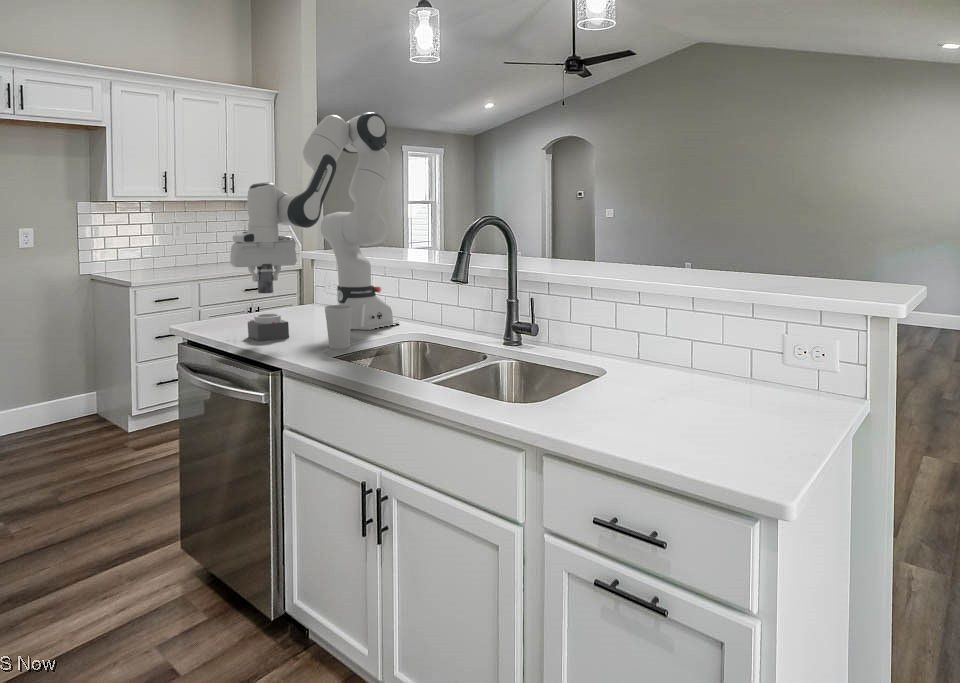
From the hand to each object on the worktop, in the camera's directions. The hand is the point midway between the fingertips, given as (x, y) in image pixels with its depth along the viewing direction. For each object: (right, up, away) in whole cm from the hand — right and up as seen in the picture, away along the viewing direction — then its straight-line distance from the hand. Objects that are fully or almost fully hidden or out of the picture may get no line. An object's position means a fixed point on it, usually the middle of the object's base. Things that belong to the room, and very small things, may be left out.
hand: (265, 280), depth 217 cm
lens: (0, -4, +1) cm, 4 cm away
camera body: (0, -18, +4) cm, 18 cm away
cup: (+25, -21, -9) cm, 34 cm away
